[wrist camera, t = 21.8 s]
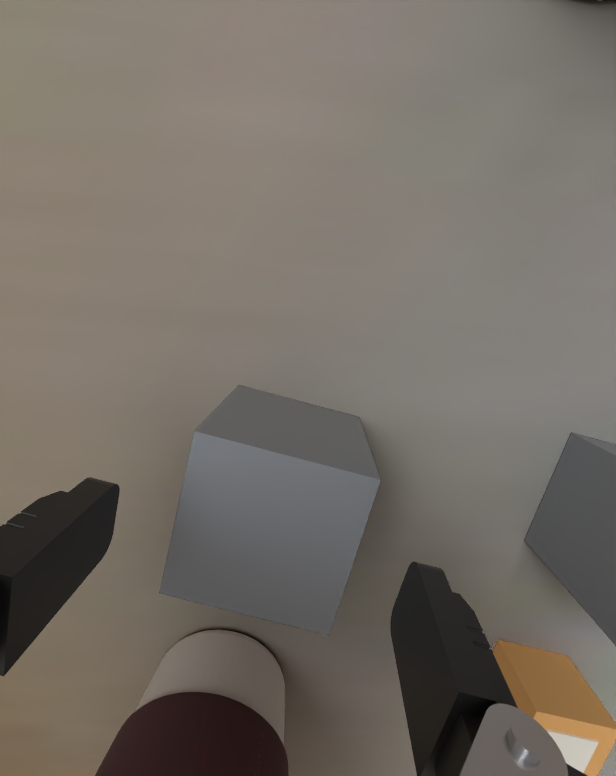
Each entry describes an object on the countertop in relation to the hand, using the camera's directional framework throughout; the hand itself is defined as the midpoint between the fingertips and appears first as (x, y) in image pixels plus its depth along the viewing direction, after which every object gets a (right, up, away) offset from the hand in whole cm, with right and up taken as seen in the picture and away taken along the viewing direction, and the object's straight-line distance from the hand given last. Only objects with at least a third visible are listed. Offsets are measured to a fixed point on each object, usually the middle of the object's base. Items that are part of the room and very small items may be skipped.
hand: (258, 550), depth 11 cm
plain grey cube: (0, +1, +9) cm, 9 cm away
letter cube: (+13, -12, +12) cm, 21 cm away
